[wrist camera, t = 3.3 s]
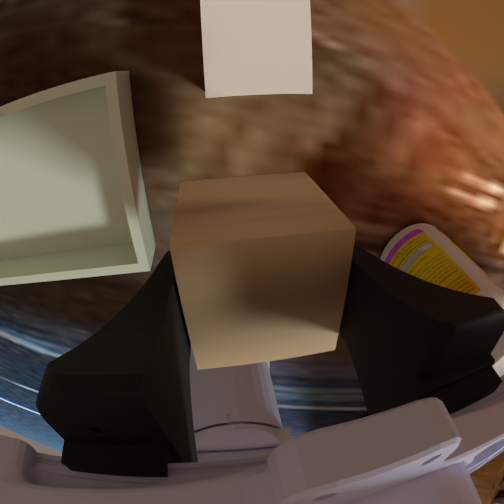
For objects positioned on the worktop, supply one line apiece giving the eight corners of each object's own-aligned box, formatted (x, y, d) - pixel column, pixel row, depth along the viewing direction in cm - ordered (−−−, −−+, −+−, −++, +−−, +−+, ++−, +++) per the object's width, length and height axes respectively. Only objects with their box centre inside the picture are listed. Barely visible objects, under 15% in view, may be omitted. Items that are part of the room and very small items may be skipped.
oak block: (300, 272, 15) (335, 349, 11) (195, 284, 15) (197, 369, 11) (304, 172, 13) (355, 228, 9) (180, 182, 12) (169, 247, 8)
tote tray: (155, 244, 21) (150, 270, 18) (-28, 268, 19) (-45, 289, 16) (129, 70, 15) (115, 71, 12) (-69, 142, 13) (-93, 155, 10)
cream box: (285, 87, 17) (312, 94, 12) (205, 91, 16) (206, 98, 12) (282, 15, 14) (309, -2, 10) (200, 17, 14) (199, -3, 10)
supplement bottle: (365, 289, 26) (439, 417, 15) (389, 217, 22) (501, 339, 11) (424, 286, 27) (500, 390, 16) (449, 222, 23) (552, 321, 13)
